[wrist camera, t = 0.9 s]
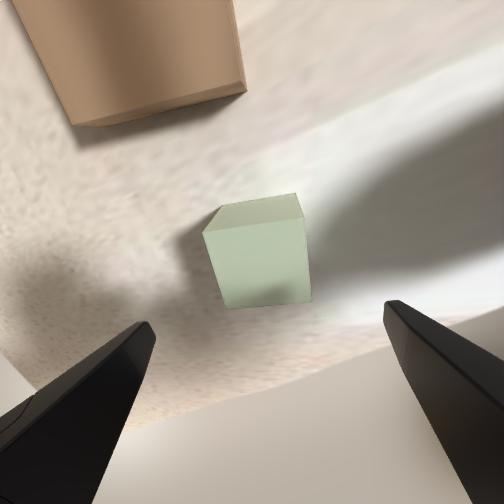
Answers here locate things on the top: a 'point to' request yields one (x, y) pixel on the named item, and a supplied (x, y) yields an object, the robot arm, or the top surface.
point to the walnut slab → (134, 55)
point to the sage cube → (260, 252)
